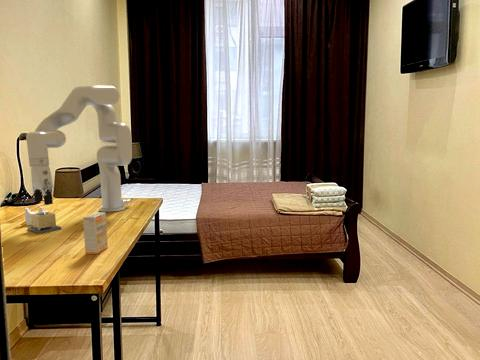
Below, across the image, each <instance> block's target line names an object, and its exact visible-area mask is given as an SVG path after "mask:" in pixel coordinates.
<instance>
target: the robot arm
mask: <svg viewBox="0 0 480 360" xmlns="http://www.w3.org/2000/svg"><path fill="white" fill-rule="evenodd" d="M119 101H120V92H119V90H118V88H116V86H113V85H80V86H79V85H78V86H76V87H74V88H73V89H72V90H71V92H70V93H69V94H68V95H67V97H66V99H64V101H63V103H62V104H61V106H60V107H59V108H58V109H57V110H55V111H54V112H52V113H50V114H49V115H48V116H46V117H45V118H43V119H42V121H41V122H40V123H39V125H38V126H37V127H36V128H35V130H34V131H32V132H27V134H26V135H25V137H26V139H25V140H26V146H27V147H26V148H27V156H28V162H29V163H28V164H29V167H30V172H31V173H30V174H31V184H32V191H33V197H34V202H35V203H37V202H42V201H43V202H44V205H45V206H49V205H53V204H54V201H53V188H54V184H53V179H52V172H51V168H50V159H49V149H57V148H61V147H63V146H64V145H65V144H66V142H67V137H66V134H65V133H64V132H63V131H62V130H60V128H62V127H65V126H67V125H70V124H72V123H75V122H76V121H77V120H78V118H79V117H80V115H81V114H82V113H83V112H84V110H85V108H86V107H87V106H92V108H94V110H95V111H96V114H97V125H98V137H99V140H100V141H101V142H102V143H106V144H107V143H109V144H116V145H104V146H101V147H99V148H98V150H97V152H96V161H97V164H98V167H99V169H98V170H99V175H100V176H99V177H100V192H101V206H100V207H99V209H98V210H99V212H105V213H106V212H107V213H113V212H119V211H120V212H121V211H124V210H126V206H125V205H127V204H131V203H132V201H131V199H123V197H122V185H121V183H122V182H121V180H122V179H121V173H120V170H119V166H125V167H126V166H128V165H130V164H131V162H132V160H133V148H132V147H133V143H132V132H131V129H130V126H128V125H127V124H126V123H124V122H117V115H116V114H117V113H116V110H115V108H114V106H113V105H115V104H117V103H118V102H119ZM43 194H44V195H43Z"/></svg>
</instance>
